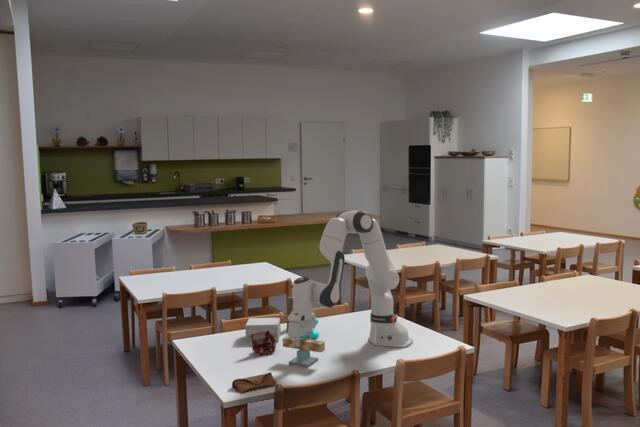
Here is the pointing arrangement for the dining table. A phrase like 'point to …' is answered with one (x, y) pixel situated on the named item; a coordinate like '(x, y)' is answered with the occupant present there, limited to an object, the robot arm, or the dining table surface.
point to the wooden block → (289, 307)
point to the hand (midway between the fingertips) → (303, 342)
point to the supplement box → (263, 327)
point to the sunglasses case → (253, 383)
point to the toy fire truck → (263, 343)
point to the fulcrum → (303, 359)
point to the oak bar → (304, 344)
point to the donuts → (314, 332)
